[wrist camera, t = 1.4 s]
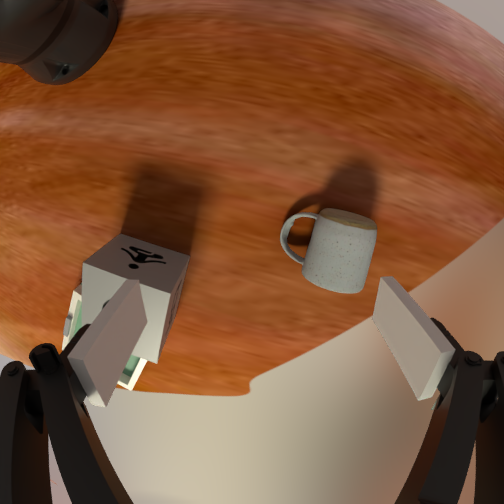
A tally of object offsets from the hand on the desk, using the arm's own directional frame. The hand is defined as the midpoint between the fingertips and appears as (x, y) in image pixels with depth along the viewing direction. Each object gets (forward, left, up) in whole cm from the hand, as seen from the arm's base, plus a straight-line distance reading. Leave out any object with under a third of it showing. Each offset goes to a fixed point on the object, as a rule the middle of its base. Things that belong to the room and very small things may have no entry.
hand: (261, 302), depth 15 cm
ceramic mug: (+9, +1, -21) cm, 23 cm away
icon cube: (-8, -15, -21) cm, 27 cm away
